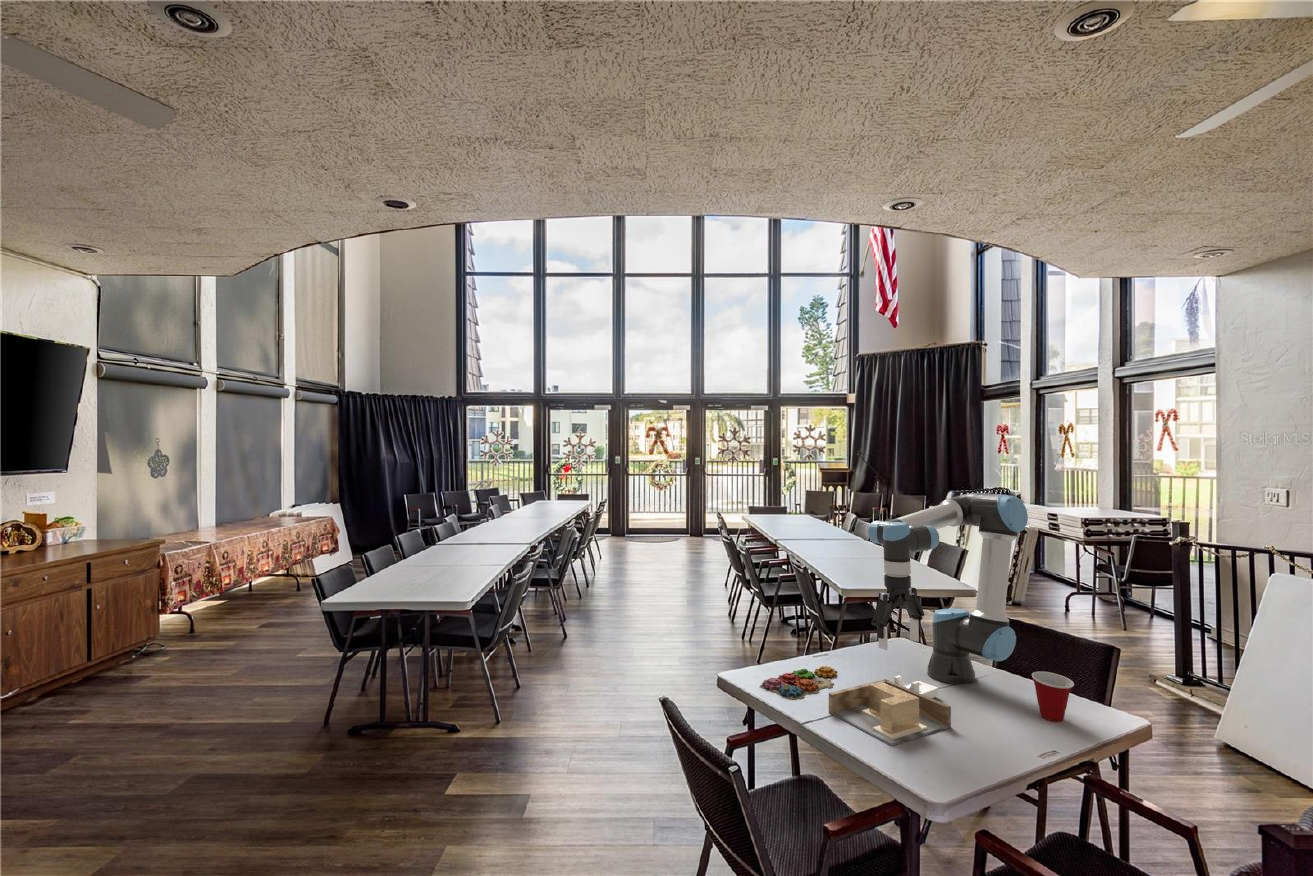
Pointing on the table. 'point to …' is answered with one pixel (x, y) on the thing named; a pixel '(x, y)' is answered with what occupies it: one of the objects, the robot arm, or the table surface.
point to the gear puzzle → (800, 682)
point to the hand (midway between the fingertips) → (899, 644)
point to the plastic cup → (1052, 694)
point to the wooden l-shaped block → (893, 707)
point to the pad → (895, 735)
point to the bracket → (919, 687)
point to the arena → (850, 710)
